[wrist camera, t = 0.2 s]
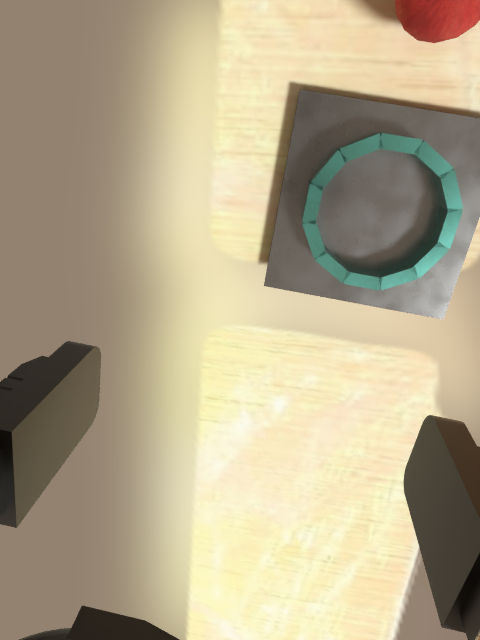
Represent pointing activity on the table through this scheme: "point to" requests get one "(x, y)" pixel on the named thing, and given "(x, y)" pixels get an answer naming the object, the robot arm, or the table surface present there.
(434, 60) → the table surface
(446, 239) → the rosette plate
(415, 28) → the onion
